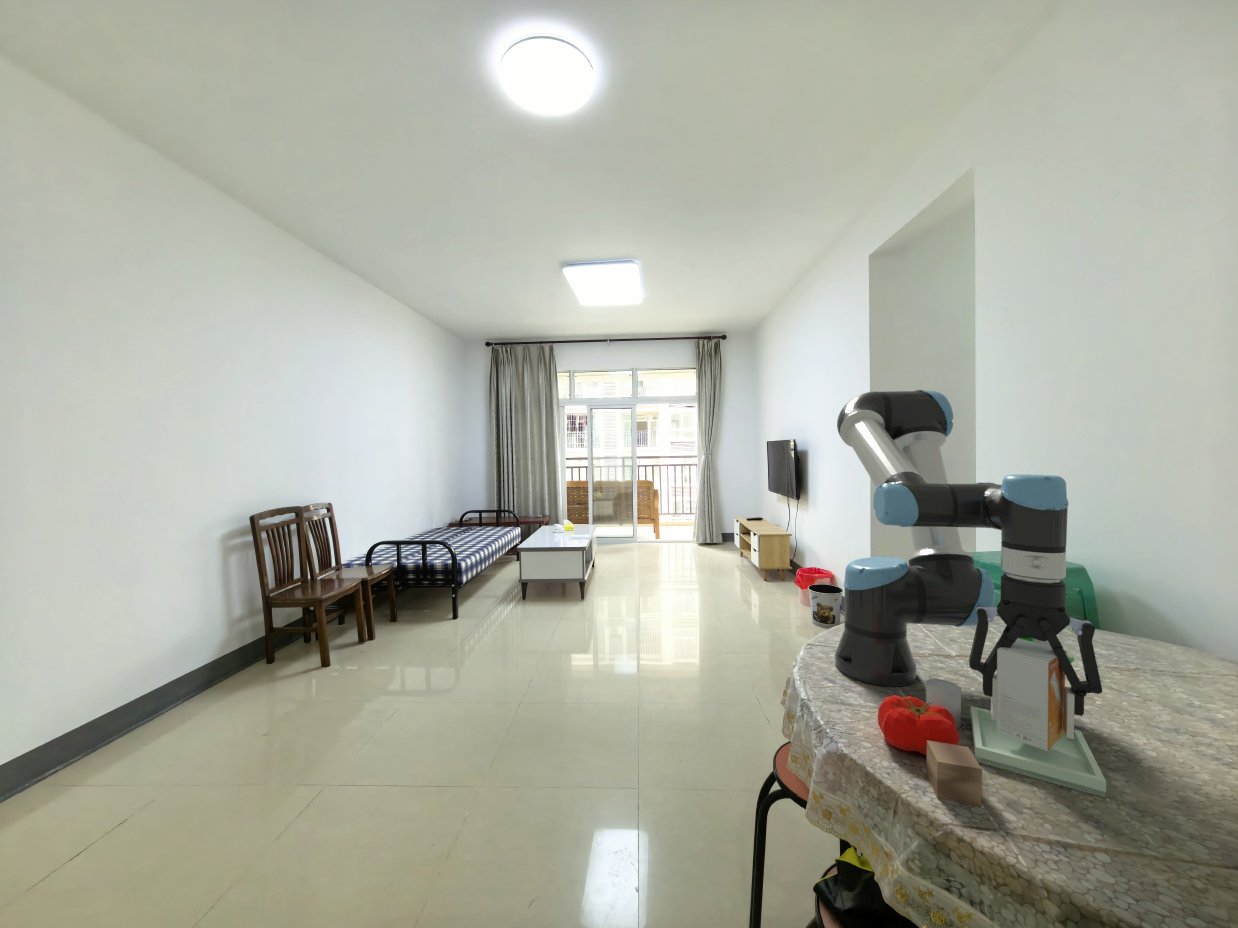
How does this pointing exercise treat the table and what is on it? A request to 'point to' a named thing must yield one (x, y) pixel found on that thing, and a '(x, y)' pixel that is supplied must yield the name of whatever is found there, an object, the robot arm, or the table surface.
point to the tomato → (915, 723)
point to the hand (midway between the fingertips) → (1030, 724)
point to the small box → (1030, 694)
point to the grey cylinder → (945, 697)
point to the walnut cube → (954, 773)
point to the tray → (1038, 756)
